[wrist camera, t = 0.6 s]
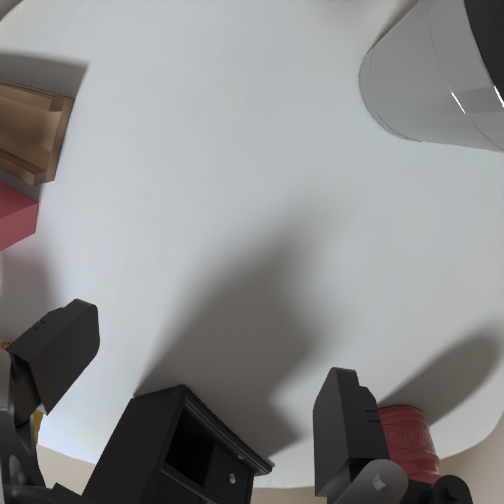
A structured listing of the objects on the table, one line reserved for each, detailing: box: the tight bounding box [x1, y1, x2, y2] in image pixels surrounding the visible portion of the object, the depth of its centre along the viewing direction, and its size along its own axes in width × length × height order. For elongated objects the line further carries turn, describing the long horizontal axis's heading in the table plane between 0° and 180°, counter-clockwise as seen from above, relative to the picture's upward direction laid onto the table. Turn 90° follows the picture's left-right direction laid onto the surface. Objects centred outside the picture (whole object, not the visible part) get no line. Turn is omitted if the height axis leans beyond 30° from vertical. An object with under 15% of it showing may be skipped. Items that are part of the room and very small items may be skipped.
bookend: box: [81, 385, 272, 504], centre depth 29 cm, size 23×11×24 cm, turn 30°
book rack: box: [0, 80, 75, 186], centre depth 24 cm, size 9×19×4 cm, turn 66°
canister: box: [378, 406, 442, 484], centre depth 27 cm, size 13×13×18 cm
